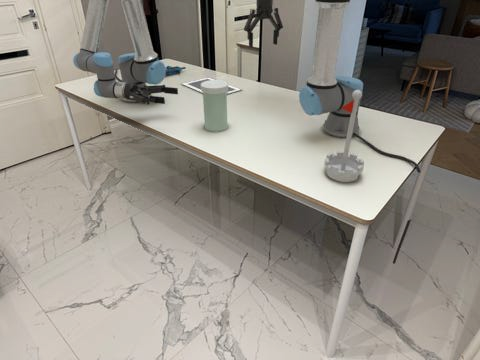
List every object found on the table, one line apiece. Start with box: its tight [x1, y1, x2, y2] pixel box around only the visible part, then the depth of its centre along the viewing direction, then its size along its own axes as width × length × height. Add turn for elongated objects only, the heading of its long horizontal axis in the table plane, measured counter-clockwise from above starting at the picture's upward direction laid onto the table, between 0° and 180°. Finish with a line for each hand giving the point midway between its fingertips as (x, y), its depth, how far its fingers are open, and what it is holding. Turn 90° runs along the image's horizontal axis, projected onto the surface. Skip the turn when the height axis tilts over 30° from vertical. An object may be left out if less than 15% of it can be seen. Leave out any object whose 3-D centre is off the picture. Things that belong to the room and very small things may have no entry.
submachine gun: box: [165, 65, 187, 76], centre depth 224 cm, size 34×4×25 cm
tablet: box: [181, 77, 242, 95], centre depth 200 cm, size 32×20×1 cm, turn 41°
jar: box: [202, 91, 228, 133], centre depth 148 cm, size 10×10×19 cm
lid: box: [201, 79, 229, 94], centre depth 144 cm, size 12×12×2 cm
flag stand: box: [323, 90, 365, 183], centre depth 111 cm, size 13×13×30 cm
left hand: (171, 95), depth 148 cm, fingers open, 13 cm apart
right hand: (263, 45), depth 167 cm, fingers open, 13 cm apart
